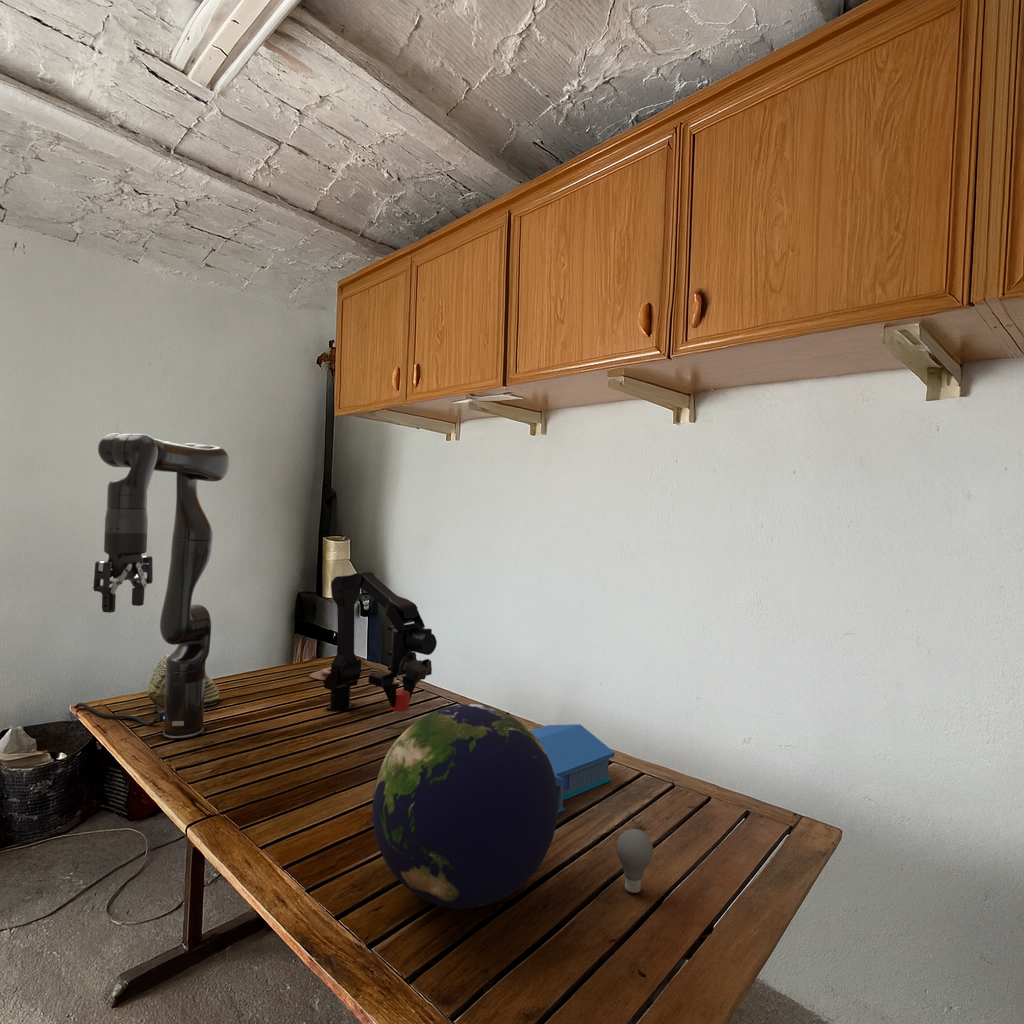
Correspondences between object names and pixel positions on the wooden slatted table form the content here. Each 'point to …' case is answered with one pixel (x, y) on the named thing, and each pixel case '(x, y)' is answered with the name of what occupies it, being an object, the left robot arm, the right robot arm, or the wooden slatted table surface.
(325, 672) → the anatomical model
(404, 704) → the canister
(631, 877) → the light bulb
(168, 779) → the wooden slatted table surface
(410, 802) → the globe
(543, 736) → the model building
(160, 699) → the fossil
